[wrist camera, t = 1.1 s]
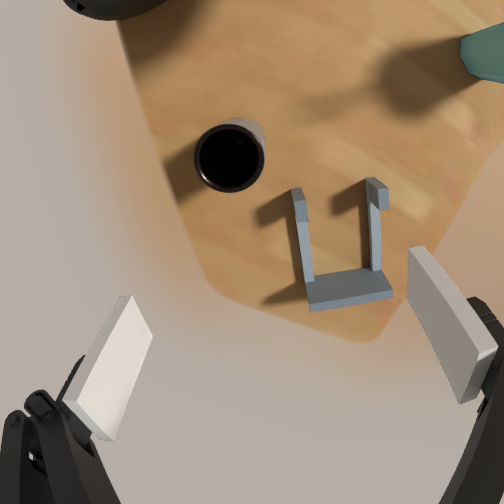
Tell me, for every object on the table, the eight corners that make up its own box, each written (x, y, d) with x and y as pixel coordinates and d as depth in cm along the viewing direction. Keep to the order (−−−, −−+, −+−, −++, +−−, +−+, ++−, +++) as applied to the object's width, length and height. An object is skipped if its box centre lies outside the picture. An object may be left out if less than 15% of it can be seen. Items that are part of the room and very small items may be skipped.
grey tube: (207, 134, 29) (179, 150, 19) (247, 107, 27) (237, 109, 18) (234, 173, 30) (219, 206, 21) (274, 147, 29) (278, 169, 20)
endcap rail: (290, 189, 31) (294, 205, 26) (374, 177, 30) (392, 191, 25) (305, 285, 35) (310, 312, 31) (378, 273, 34) (392, 297, 30)
